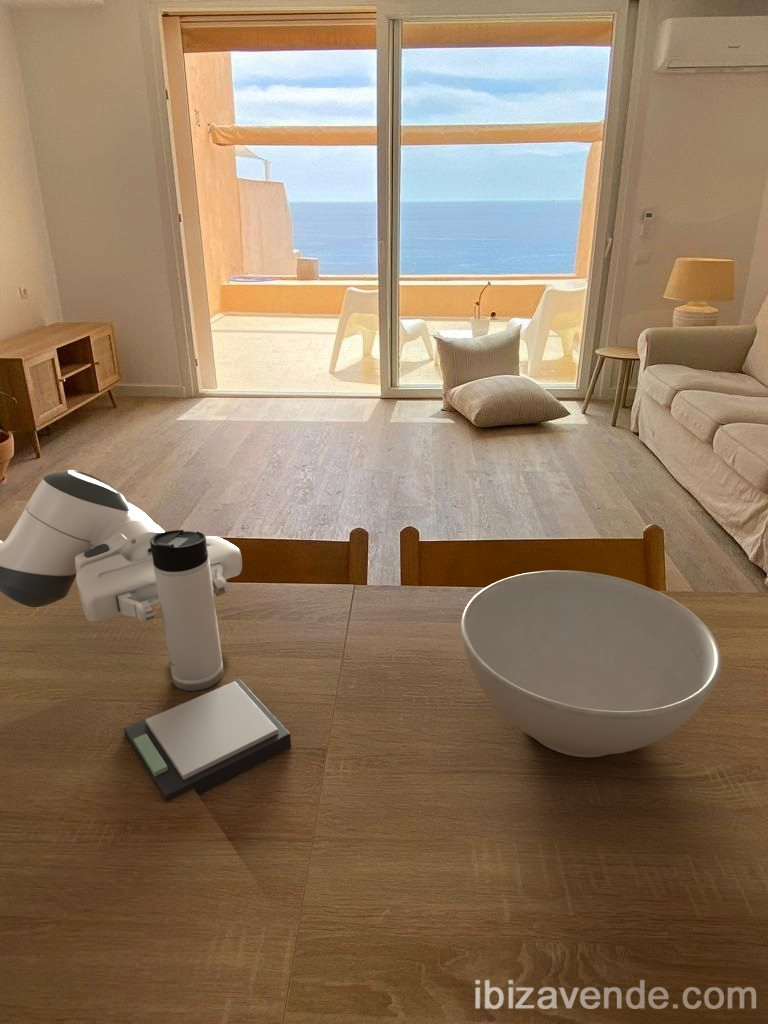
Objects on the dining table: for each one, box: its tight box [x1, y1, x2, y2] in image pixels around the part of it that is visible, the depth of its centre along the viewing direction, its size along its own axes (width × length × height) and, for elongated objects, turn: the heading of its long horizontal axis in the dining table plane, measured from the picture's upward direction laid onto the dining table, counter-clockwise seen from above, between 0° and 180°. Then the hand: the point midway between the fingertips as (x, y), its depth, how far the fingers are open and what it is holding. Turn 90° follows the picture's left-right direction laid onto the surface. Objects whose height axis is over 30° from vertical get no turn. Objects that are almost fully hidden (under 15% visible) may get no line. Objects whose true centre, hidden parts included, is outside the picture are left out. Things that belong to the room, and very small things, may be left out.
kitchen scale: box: [123, 679, 292, 803], centre depth 76 cm, size 14×12×3 cm
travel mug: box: [150, 529, 224, 692], centre depth 83 cm, size 6×7×20 cm
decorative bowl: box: [460, 570, 723, 758], centre depth 77 cm, size 27×27×12 cm
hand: (186, 602), depth 83 cm, fingers open, 8 cm apart
